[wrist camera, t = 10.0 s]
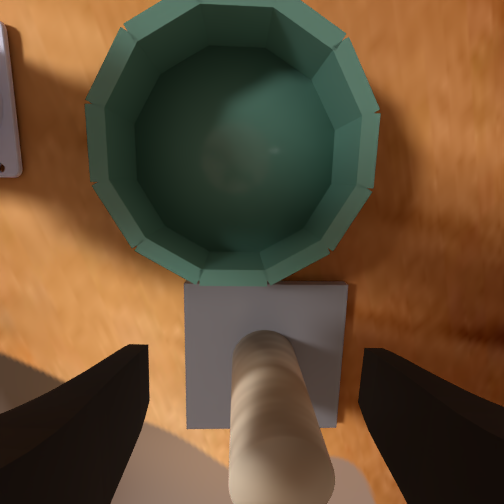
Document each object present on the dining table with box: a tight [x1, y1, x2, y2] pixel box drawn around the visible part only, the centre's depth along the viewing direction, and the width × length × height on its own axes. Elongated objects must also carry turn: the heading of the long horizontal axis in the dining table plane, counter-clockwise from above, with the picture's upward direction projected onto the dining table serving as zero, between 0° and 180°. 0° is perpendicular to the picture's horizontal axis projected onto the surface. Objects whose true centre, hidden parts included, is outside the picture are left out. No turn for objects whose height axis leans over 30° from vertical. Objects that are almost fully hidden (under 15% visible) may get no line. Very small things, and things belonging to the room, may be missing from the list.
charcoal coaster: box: [184, 280, 348, 429], centre depth 22 cm, size 10×10×1 cm
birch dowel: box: [229, 330, 335, 504], centre depth 17 cm, size 4×4×9 cm
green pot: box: [85, 0, 381, 287], centre depth 17 cm, size 13×13×5 cm
